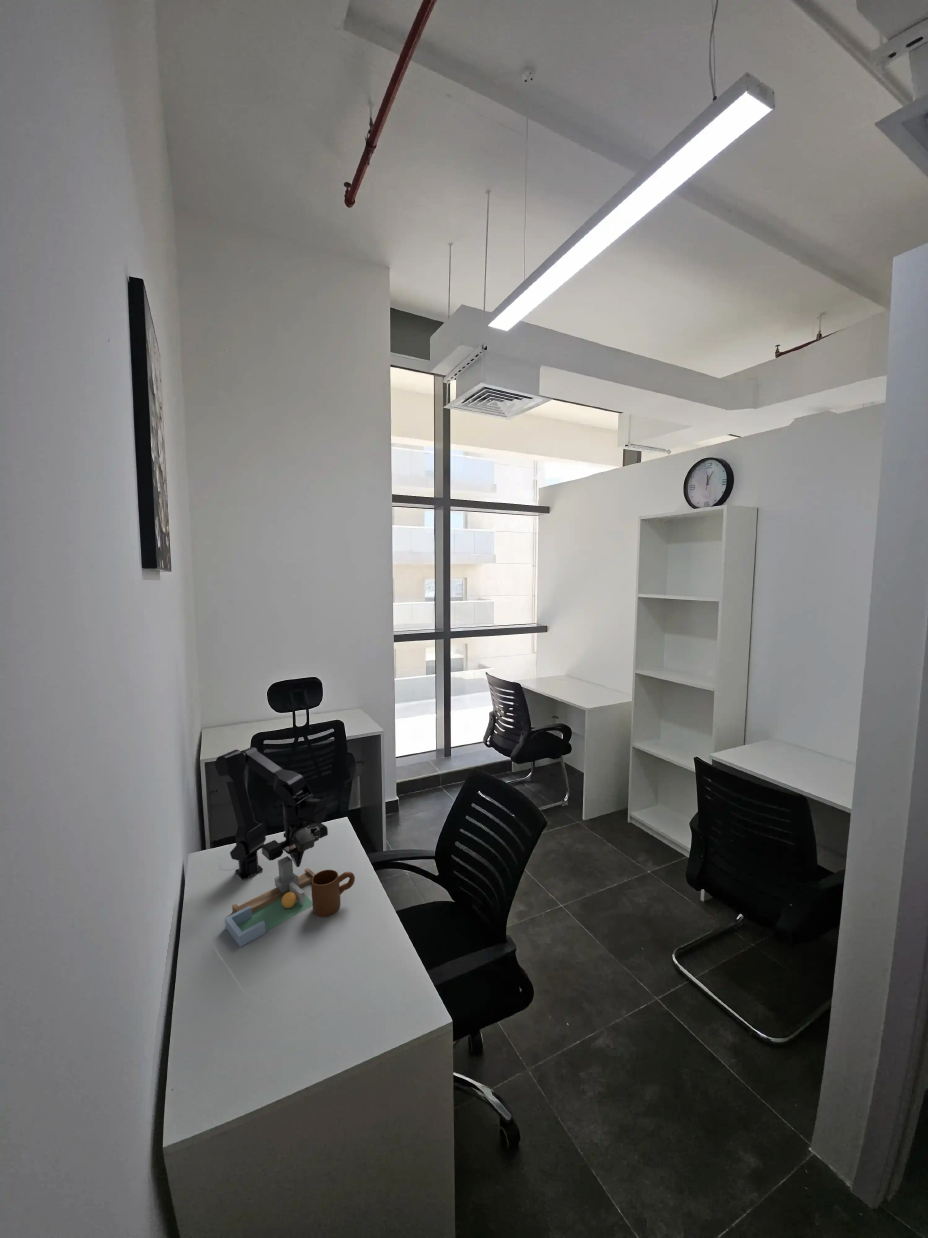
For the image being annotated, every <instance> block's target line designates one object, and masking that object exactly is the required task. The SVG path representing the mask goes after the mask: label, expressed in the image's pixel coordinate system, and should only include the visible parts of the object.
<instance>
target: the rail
mask: <svg viewBox="0 0 928 1238" xmlns="http://www.w3.org/2000/svg"><path fill="white" fill-rule="evenodd" d="M315 874H316V873H315V872H314V871H312V870H311V869H310V868H309V867H306V868H304V873H303V874H300V875H297V876H298V881H299V885H298V887H299V888H301V889H302V888H304V887H306V886H308V885H310V884H311V880H312V877H313V876H314V875H315ZM288 892H290V890H288V891H286V892H284V893H282V892H281V891H280V890H279V889H278V888H277V887H276V886H275V887H274V888H272V889H270V890H269V891H266V892H264V893H262V894H260V895H258V896H256V897H254V898H252V899H249V900H248V901H246V902H243V903H242V904H240V905H238V904H237V903H236V902H235V903H232V904H231V911H232V914H234V913H236V912H238V911H240V910H242V909H244V908H246V907H248V906H251V908H252V913H253V912H255V911H257V910H259V909H261V908H263V907H265V906H267V905H269V904H271V903H273V902H274V901H276V900H278V899H280V898H282V897H283V896H284V895H285V894H286V893H288Z"/></svg>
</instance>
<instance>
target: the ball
mask: <svg viewBox="0 0 928 1238" xmlns="http://www.w3.org/2000/svg"><path fill="white" fill-rule="evenodd" d="M295 903H296V895H295V894H294V893H293V892H288V893H286V894H285V895H284V896H283V897H282V905H283V907H285V908H291V907H293V906H294V904H295Z"/></svg>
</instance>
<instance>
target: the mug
mask: <svg viewBox="0 0 928 1238" xmlns="http://www.w3.org/2000/svg"><path fill="white" fill-rule="evenodd" d="M347 878H349V879H348V881H347V882H346V883H343V884H341V885H340V883H341V882H343V881H344V880H346V879H347ZM355 879H356V877H355V874H354V873H353V872H352V871H344V872H343V873H342V874H340V875H339V872H338V871H336V870H333V869H324V870H320V871H319V872H317V873H315V875H314V876H313V877H312V880H311V883H310V884H311V885H310V886H311V887H310V888H311V901H312V903H313V906H312V910H313V913H314V914H315V916H317V917H321V918H325V917H326V918H327V917H329V916H332V915H334V914H335V913H337V912H338V910H340V907H341V895H342V894H343V893H344V892H345V891H347V890H349V889H351V887H352V886H354V884H355Z"/></svg>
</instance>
